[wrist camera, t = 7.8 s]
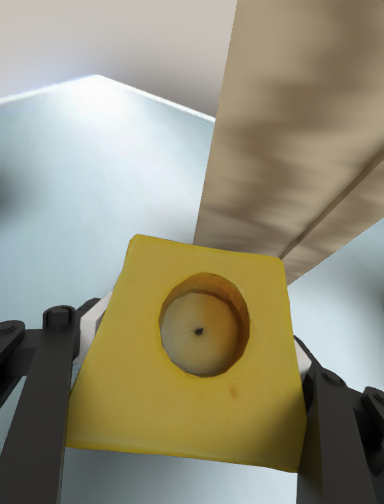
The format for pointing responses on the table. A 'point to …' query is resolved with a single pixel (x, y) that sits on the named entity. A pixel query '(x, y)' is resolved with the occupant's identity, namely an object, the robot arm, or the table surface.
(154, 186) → the table surface
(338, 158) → the door frame
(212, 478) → the table surface
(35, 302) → the table surface
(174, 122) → the table surface
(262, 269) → the candle
